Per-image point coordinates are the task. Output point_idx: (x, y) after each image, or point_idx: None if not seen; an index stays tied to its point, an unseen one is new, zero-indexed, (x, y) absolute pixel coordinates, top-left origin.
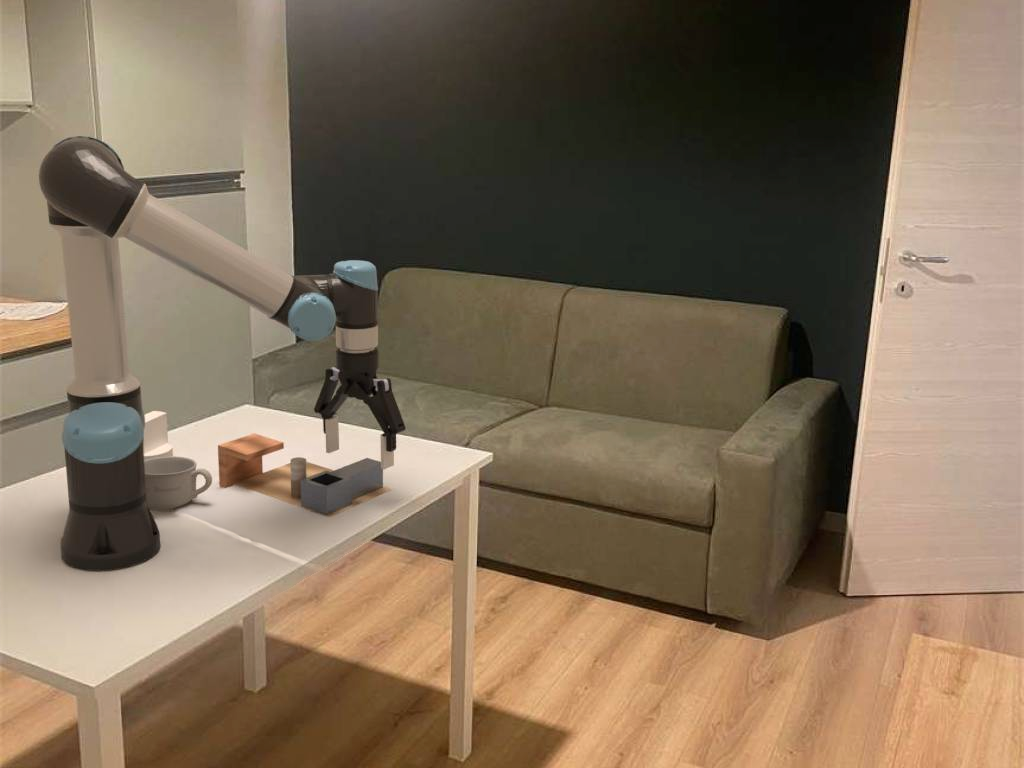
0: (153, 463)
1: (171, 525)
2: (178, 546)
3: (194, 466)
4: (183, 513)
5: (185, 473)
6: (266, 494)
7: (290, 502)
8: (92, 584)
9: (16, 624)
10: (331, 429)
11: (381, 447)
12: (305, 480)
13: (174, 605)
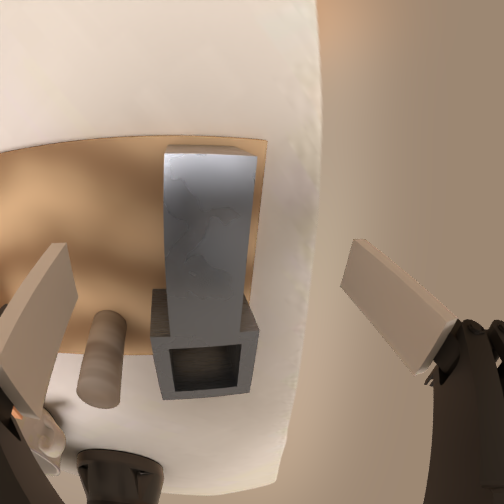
0: None
1: (91, 434)
2: (149, 449)
3: (37, 453)
4: (62, 416)
5: (53, 461)
6: (67, 352)
7: (130, 352)
8: (170, 479)
9: (188, 493)
10: (43, 356)
11: (386, 337)
12: (172, 396)
13: (246, 467)
